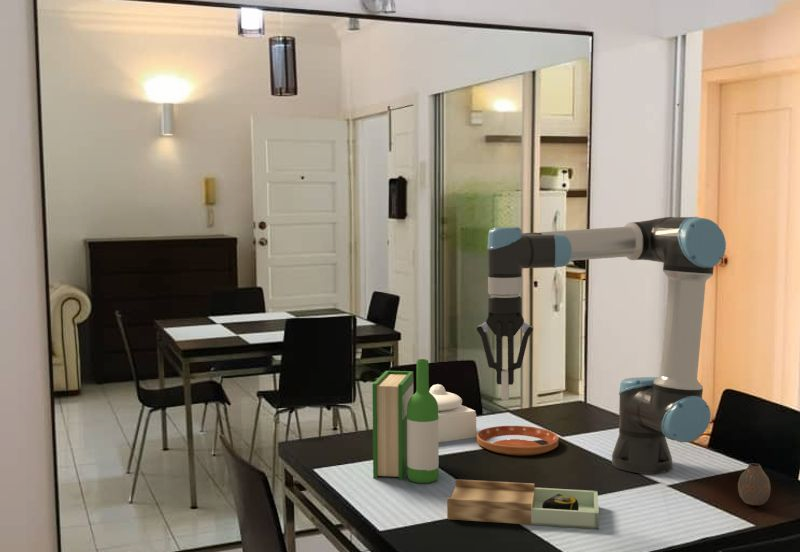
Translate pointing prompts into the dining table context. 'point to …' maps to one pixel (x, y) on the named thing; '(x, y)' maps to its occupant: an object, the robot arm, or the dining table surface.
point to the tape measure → (561, 503)
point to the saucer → (517, 440)
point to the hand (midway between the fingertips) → (505, 398)
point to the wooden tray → (491, 501)
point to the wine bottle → (422, 430)
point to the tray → (566, 518)
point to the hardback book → (391, 423)
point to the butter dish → (453, 416)
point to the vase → (754, 485)
